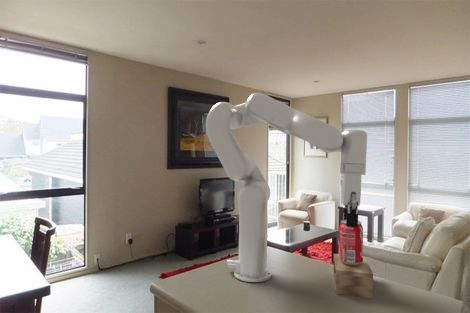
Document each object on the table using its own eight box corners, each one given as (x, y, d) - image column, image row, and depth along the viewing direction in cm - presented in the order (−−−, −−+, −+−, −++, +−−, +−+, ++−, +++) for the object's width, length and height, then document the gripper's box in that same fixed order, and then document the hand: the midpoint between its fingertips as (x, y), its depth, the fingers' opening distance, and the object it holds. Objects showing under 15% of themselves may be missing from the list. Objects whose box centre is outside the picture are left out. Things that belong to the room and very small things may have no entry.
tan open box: (336, 293, 91) (336, 270, 91) (333, 273, 107) (333, 253, 107) (372, 298, 89) (373, 273, 89) (364, 277, 104) (364, 256, 104)
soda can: (365, 267, 94) (366, 224, 94) (340, 265, 95) (341, 223, 95) (360, 260, 101) (360, 219, 101) (337, 258, 102) (337, 218, 102)
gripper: (338, 167, 107) (336, 217, 107) (342, 169, 90) (339, 228, 90) (361, 169, 105) (359, 219, 105) (370, 171, 88) (367, 231, 88)
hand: (350, 223), depth 98 cm, fingers open, 9 cm apart
